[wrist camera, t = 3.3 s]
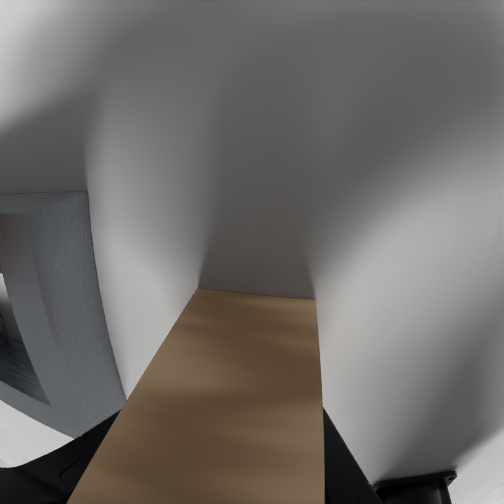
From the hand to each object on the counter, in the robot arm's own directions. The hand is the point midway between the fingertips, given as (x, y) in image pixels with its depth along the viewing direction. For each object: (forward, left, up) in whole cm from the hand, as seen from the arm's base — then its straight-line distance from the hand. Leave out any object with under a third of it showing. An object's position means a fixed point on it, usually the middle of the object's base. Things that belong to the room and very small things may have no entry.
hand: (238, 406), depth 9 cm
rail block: (+13, 0, -4) cm, 13 cm away
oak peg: (0, 0, -4) cm, 4 cm away
